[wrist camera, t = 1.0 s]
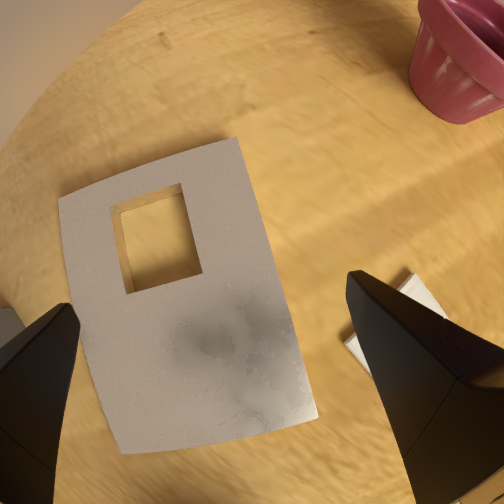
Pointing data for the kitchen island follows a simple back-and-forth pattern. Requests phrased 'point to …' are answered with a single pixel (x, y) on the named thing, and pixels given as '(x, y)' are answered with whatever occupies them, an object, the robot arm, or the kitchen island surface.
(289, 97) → the kitchen island surface
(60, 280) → the kitchen island surface
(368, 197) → the kitchen island surface
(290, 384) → the plate
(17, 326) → the block
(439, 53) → the plant pot
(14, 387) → the robot arm
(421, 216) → the kitchen island surface
